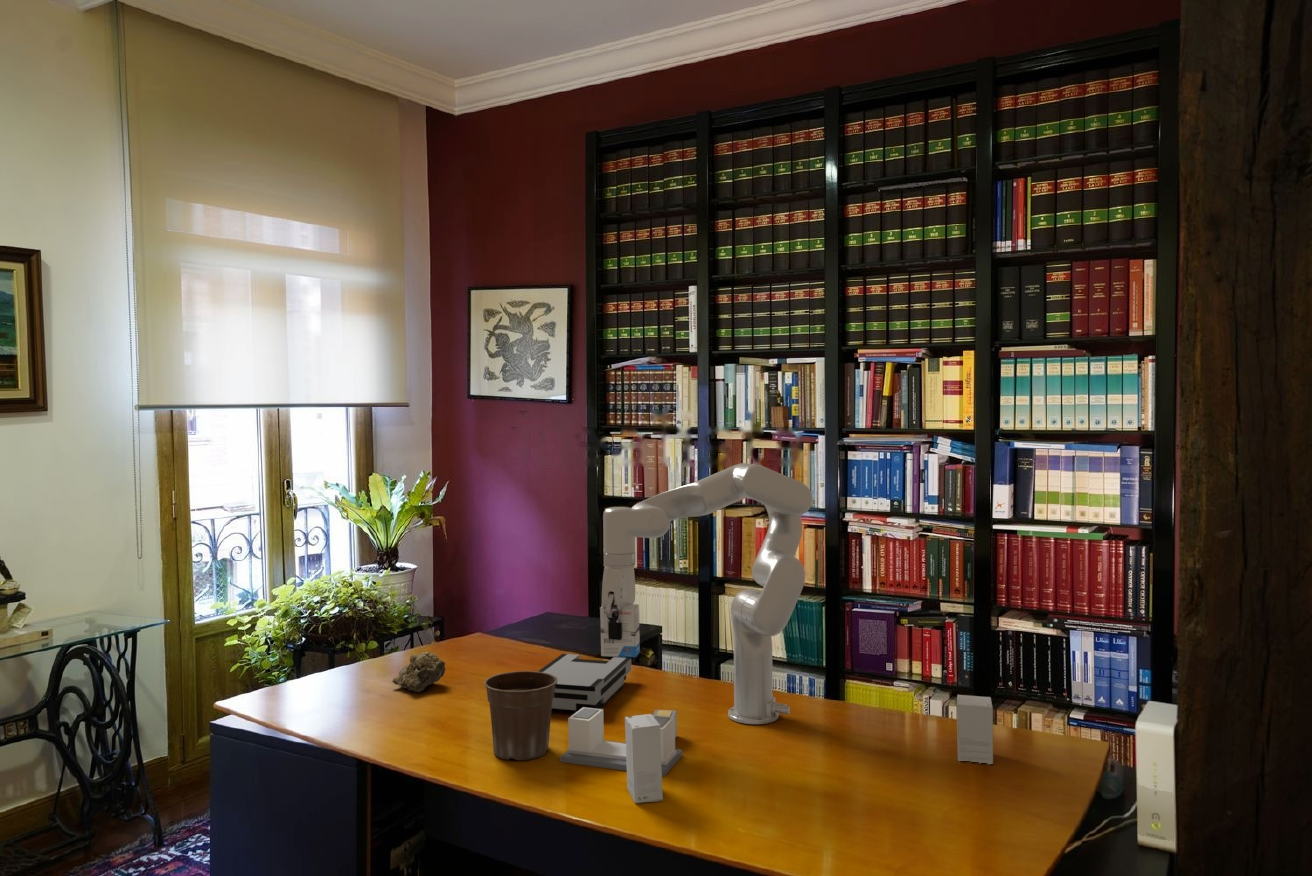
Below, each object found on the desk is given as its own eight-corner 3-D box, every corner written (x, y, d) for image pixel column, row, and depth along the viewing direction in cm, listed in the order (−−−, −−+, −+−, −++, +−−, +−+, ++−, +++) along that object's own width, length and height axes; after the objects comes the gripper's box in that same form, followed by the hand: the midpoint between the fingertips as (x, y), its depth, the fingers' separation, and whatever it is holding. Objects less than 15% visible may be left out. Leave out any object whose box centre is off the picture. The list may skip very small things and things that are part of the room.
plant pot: (529, 733, 212) (528, 666, 212) (572, 751, 201) (572, 679, 201) (470, 751, 201) (470, 680, 201) (513, 771, 190) (512, 695, 189)
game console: (631, 682, 254) (631, 654, 254) (595, 719, 223) (595, 686, 223) (562, 677, 259) (562, 649, 259) (518, 713, 228) (517, 681, 228)
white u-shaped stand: (682, 755, 198) (682, 714, 198) (664, 775, 187) (664, 732, 186) (583, 743, 206) (582, 703, 206) (560, 762, 195) (560, 720, 194)
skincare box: (663, 801, 174) (662, 725, 174) (633, 805, 173) (632, 728, 172) (653, 784, 182) (653, 712, 182) (624, 787, 181) (624, 714, 181)
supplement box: (992, 753, 198) (992, 696, 197) (993, 766, 191) (993, 707, 190) (957, 749, 200) (956, 693, 200) (956, 761, 193) (956, 703, 193)
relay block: (676, 736, 210) (676, 709, 210) (672, 745, 204) (672, 718, 204) (655, 735, 211) (655, 708, 211) (651, 744, 205) (651, 717, 205)
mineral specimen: (380, 689, 249) (380, 653, 249) (417, 677, 259) (417, 643, 259) (415, 697, 241) (415, 661, 240) (452, 686, 251) (451, 650, 251)
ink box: (640, 652, 213) (640, 603, 212) (635, 658, 208) (635, 607, 208) (606, 651, 215) (605, 602, 214) (600, 656, 210) (599, 606, 210)
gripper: (619, 553, 220) (620, 627, 221) (589, 564, 204) (590, 643, 205) (647, 555, 217) (648, 629, 218) (619, 566, 201) (620, 646, 202)
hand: (620, 635), depth 211 cm, fingers closed on ink box, 5 cm apart
